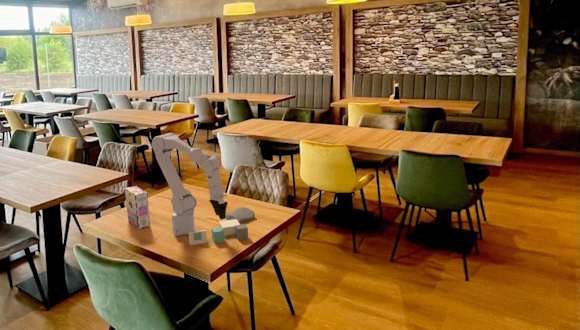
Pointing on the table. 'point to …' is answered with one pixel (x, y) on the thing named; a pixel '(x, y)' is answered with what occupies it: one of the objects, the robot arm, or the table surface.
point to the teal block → (218, 235)
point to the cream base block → (229, 226)
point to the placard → (197, 237)
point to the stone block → (240, 214)
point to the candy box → (137, 207)
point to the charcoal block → (241, 232)
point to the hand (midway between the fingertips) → (220, 216)
